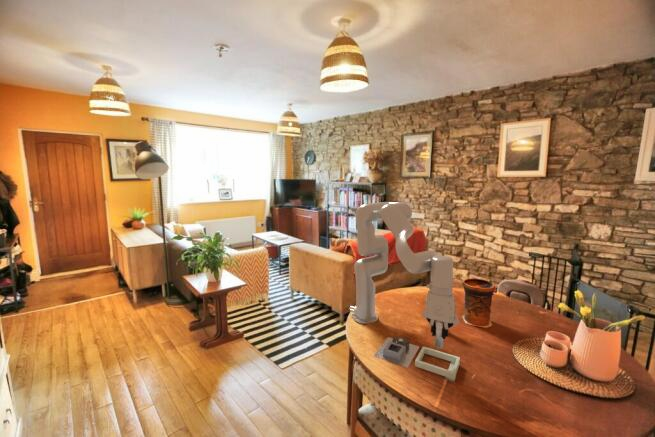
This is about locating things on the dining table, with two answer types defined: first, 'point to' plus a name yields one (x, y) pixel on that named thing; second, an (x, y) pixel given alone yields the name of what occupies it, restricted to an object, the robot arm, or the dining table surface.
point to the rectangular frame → (448, 374)
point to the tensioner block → (397, 351)
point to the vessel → (478, 302)
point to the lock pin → (439, 334)
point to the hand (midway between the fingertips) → (439, 335)
